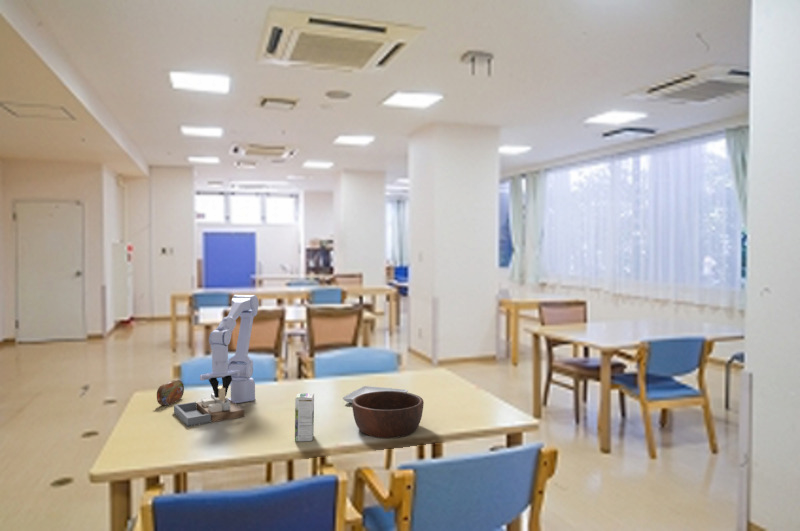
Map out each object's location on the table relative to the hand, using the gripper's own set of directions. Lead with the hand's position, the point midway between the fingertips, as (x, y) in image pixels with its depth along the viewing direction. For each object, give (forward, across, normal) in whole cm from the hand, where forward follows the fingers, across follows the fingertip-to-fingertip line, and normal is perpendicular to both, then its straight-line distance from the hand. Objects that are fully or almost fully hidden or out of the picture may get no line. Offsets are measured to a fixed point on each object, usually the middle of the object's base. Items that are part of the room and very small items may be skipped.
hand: (220, 396), depth 205 cm
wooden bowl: (+7, +42, -53) cm, 68 cm away
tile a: (+4, -3, +4) cm, 7 cm away
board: (+6, 0, 0) cm, 6 cm away
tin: (+6, -12, +26) cm, 30 cm away
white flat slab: (+3, 0, 0) cm, 3 cm away
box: (+6, -11, 0) cm, 12 cm away
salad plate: (+7, +58, -21) cm, 62 cm away
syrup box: (+6, +14, -45) cm, 47 cm away
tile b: (+4, -3, -4) cm, 7 cm away
